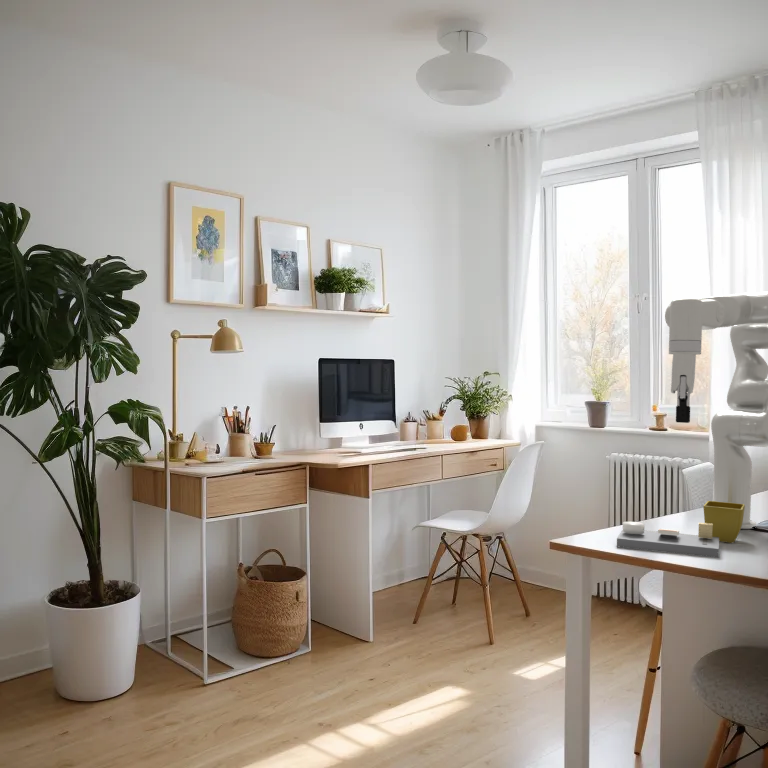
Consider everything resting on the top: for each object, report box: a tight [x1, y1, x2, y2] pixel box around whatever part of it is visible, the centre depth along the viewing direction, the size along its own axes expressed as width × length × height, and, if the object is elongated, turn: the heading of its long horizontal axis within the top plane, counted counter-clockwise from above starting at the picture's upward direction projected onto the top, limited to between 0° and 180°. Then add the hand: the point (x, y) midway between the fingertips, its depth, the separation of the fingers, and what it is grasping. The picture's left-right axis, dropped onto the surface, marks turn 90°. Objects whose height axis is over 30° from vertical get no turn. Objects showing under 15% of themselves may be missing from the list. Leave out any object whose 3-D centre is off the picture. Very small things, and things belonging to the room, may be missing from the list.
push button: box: [622, 521, 646, 534], centre depth 186 cm, size 5×5×2 cm
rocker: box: [657, 528, 680, 535], centre depth 183 cm, size 6×4×1 cm
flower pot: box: [702, 500, 745, 544], centre depth 191 cm, size 9×9×9 cm
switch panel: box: [616, 529, 720, 559], centre depth 183 cm, size 14×22×3 cm, turn 66°
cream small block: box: [697, 522, 713, 539], centre depth 183 cm, size 2×3×3 cm, turn 66°
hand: (682, 422), depth 191 cm, fingers closed
